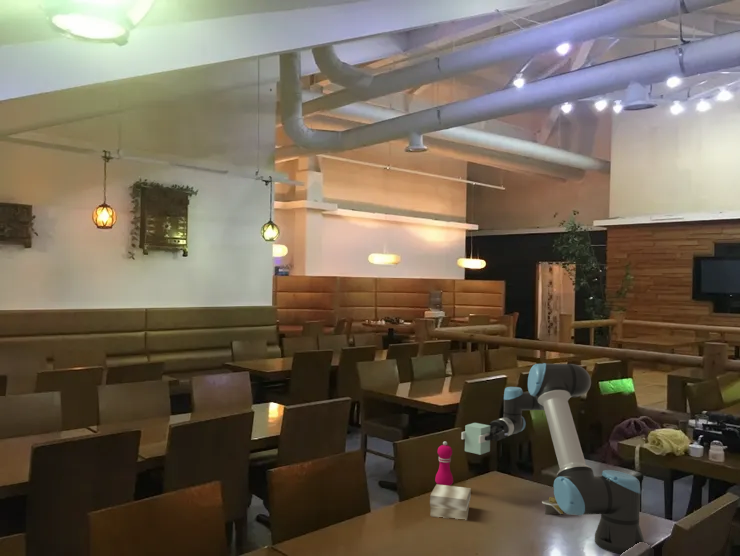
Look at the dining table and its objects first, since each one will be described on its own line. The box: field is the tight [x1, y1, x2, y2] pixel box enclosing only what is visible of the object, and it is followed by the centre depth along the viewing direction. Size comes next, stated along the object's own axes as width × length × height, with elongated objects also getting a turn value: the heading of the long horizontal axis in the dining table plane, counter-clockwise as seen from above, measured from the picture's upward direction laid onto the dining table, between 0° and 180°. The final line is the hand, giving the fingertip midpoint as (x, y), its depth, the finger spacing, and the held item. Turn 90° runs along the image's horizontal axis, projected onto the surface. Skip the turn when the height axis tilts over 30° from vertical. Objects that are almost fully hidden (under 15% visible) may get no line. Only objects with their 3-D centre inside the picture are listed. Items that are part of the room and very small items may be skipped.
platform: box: [541, 496, 565, 515], centre depth 231 cm, size 12×18×7 cm, turn 105°
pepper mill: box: [434, 441, 454, 486], centre depth 254 cm, size 7×7×20 cm
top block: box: [429, 483, 472, 511], centre depth 231 cm, size 13×13×4 cm
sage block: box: [464, 422, 491, 456], centre depth 245 cm, size 7×7×10 cm
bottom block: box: [430, 503, 470, 521], centre depth 231 cm, size 13×13×4 cm
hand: (470, 437), depth 241 cm, fingers closed on sage block, 7 cm apart
